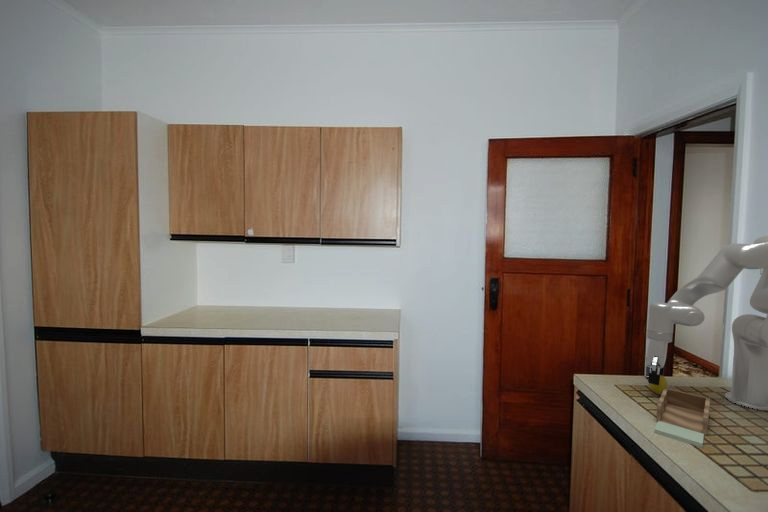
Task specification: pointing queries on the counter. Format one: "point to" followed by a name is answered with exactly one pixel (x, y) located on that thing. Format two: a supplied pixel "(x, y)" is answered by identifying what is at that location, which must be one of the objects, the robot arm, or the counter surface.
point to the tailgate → (679, 433)
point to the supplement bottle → (649, 370)
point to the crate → (684, 410)
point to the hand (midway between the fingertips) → (655, 380)
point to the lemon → (661, 386)
